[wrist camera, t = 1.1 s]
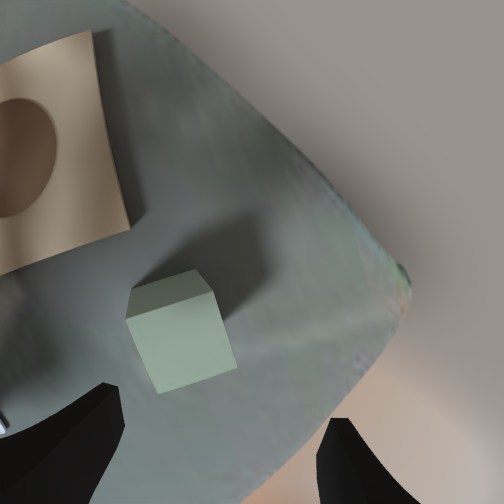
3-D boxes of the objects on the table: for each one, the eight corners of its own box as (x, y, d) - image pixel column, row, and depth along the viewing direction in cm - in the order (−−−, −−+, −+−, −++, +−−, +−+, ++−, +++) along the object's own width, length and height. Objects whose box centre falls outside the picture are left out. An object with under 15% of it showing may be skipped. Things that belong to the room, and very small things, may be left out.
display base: (-34, 288, 16) (-45, 294, 14) (-62, 112, 13) (-72, 107, 11) (131, 228, 19) (129, 229, 18) (93, 39, 16) (90, 27, 15)
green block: (153, 348, 21) (158, 394, 15) (131, 288, 20) (125, 319, 14) (214, 328, 22) (237, 367, 16) (195, 268, 21) (213, 290, 15)
